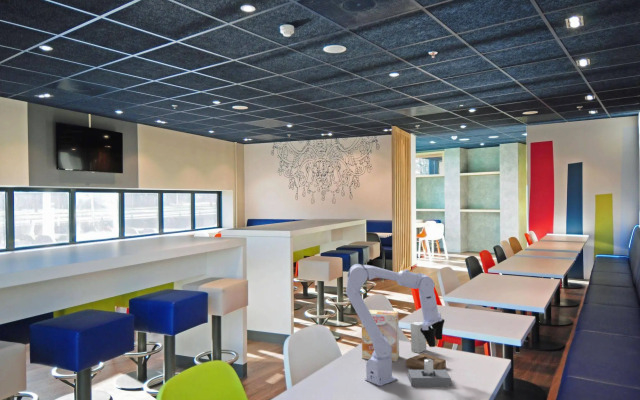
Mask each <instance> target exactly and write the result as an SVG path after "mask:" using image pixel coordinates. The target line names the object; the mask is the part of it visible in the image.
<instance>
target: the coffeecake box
mask: <svg viewBox="0 0 640 400" xmlns="http://www.w3.org/2000/svg"><path fill="white" fill-rule="evenodd" d="M369 311H370V313H371V315H372V317H373V319H374V320H375V322H376V324H377V326H378V328H379V329H380V331H381V332H382V334H383V335H385V336H386V337H387V338H388V340H389V344H390V345H391V348H392V352H391V354H392V362H398V359H399V357H400V332H399V331H400V330H399V329H400V326H399V325H400V324H399V323H400V322H399V321H400V320H399V317H400V316H399V310H397V311H395V310H379V309H369ZM373 352H374V347H373V344H372V341H371V338H370V336H369V334H368V333H367V331H366V329H365V327H364V325H363V324H362V323H361V357H362V358H361V359H363V360H369V359H371V357H372V353H373Z"/></svg>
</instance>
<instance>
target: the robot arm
mask: <svg viewBox="0 0 640 400" xmlns="http://www.w3.org/2000/svg"><path fill="white" fill-rule="evenodd" d="M375 278H379V279H383V280H384V279H385V280H389V281H394V282H397V285H398V286H400V287H405V288H409V289H416V290H417V289H418V294H419V301H420V307H421V311H422V316H423V317H422V319H423V320H422V322H423V324H422V328H421V329H420V331H421V333H422V334H423V335H424V337H425V338H426V344H427V345H428V346H429V348H435V347H436V340H438V341H439V340H443V330H444V323H445V319H444V318H442V314H441V312H439V310H438V304H437V299H436V294H435V286H436V285H435V282H434V280H433V279H432V278H431V277H430V276H429V275H427V274H424V273H421V272H418V273H415V272H413V271H410V270H409V269H401V270H399V272H398V271H392V270H389V269H385V268H382V267H378V266H374V265H369V264H360V263H355V264H352V265H351V267H350V268H349V270H348V271H347V276H346V287H345V288H346V290H345V292H346V293H345V294H346V296H347V298H348V300H349V302H350V304H351V306H352V307H353V309H354V311H355V313H356V314H357V316H358V319H359V320H360V321H361V325H362V324H363V325H364V327H365V329H366V331H367V333H368V334H369V336H370V338H371V341H372V344H373V347H374V352H373V353H372V357H371V359H367V360H366V362H365V363H366V365H365V366H366V367H365V368H366V370H365V371H366V378H364V380H365V381H367V382H369V383H372V384H374V385H377V386H384V385H387V384H389V383H392V382H393V381H397V380H398V378H397V377H396V376H393V361H392V354H391V352H392V348H391V345H390V344H389V340H388V338H387V337H386V336H385V335H383V334H382V332H381V331H380V329H379V328H378V326H377V324H376V322H375V320H374V319H373V317H372V315H371V313H370V311H369V310H370V309H369V308H368V306H367V304H366V302H365V300H364V299H363V297H362V295H361V291H362V287H363V285H364V284H365V283H366V281H367V280H369V281H371V280H373V279H375Z"/></svg>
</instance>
